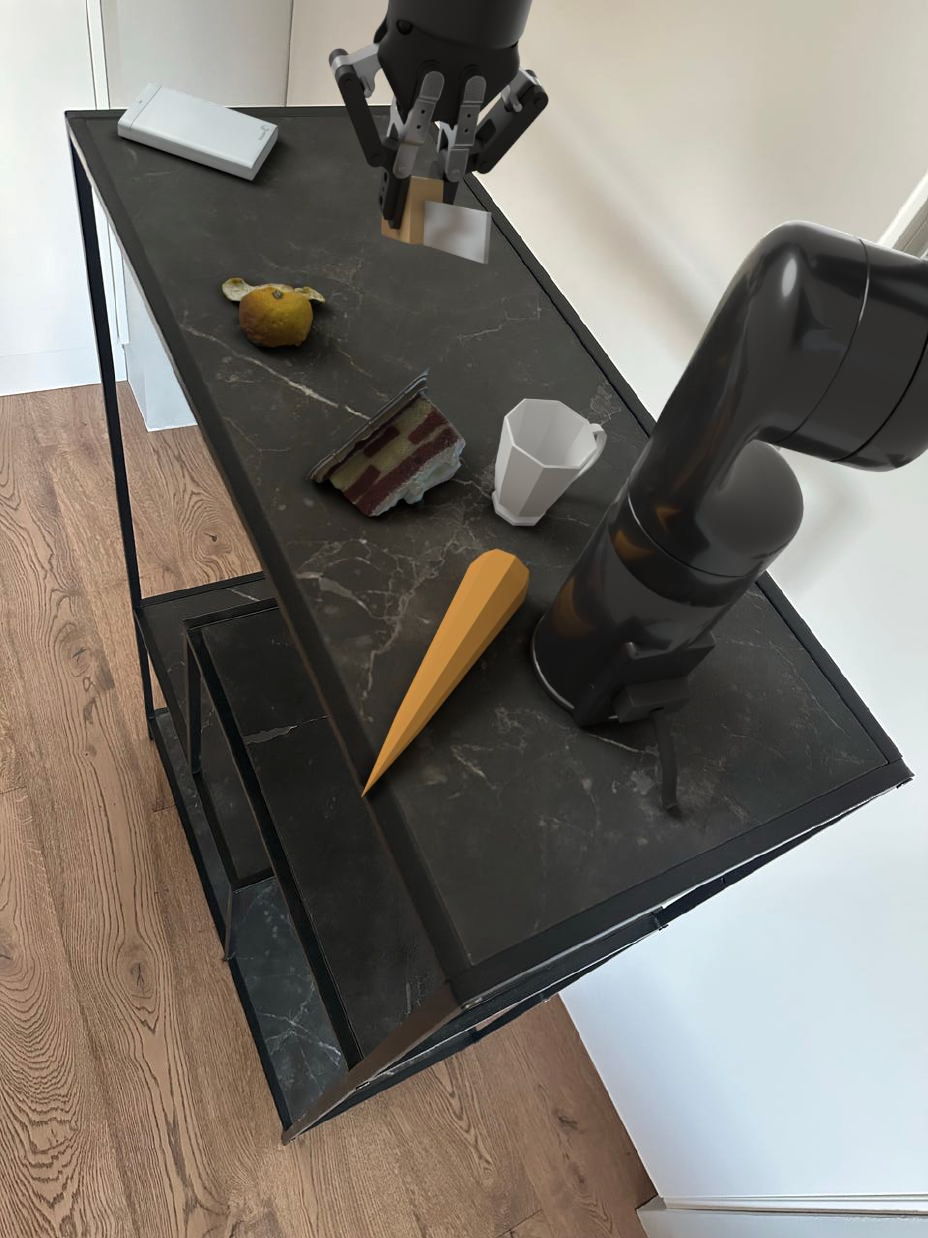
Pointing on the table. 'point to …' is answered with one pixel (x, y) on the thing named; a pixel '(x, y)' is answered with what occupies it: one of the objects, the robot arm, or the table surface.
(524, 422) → the cup
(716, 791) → the table surface
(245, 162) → the hard drive
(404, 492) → the chocolate cake
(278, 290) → the fruit
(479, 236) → the knife
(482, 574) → the carrot
